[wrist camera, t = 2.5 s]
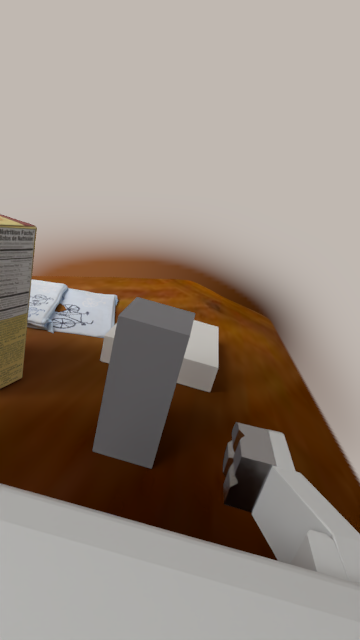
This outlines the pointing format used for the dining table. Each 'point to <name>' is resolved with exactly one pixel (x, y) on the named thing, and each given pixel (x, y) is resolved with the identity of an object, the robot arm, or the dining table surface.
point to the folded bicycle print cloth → (70, 310)
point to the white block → (188, 356)
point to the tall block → (141, 380)
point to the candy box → (14, 294)
